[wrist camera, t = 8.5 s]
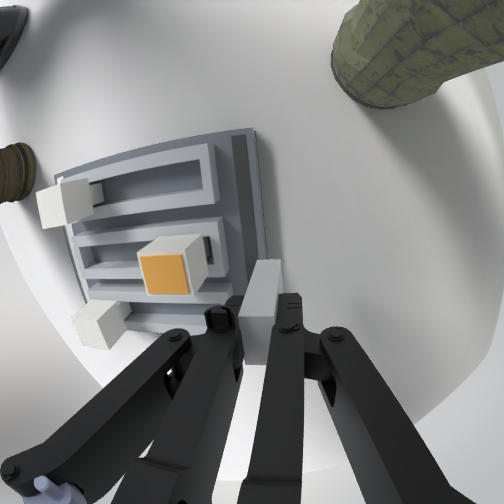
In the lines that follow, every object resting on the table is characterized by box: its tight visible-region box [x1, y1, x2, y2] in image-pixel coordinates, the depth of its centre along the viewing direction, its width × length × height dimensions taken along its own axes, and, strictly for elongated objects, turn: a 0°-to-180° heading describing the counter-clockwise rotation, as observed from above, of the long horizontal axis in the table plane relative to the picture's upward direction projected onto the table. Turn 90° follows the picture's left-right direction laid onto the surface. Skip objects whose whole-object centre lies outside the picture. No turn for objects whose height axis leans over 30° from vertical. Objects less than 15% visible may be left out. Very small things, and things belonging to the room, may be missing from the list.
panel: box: [36, 128, 267, 350], centre depth 24 cm, size 20×24×9 cm
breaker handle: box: [137, 233, 210, 296], centre depth 22 cm, size 4×4×7 cm
